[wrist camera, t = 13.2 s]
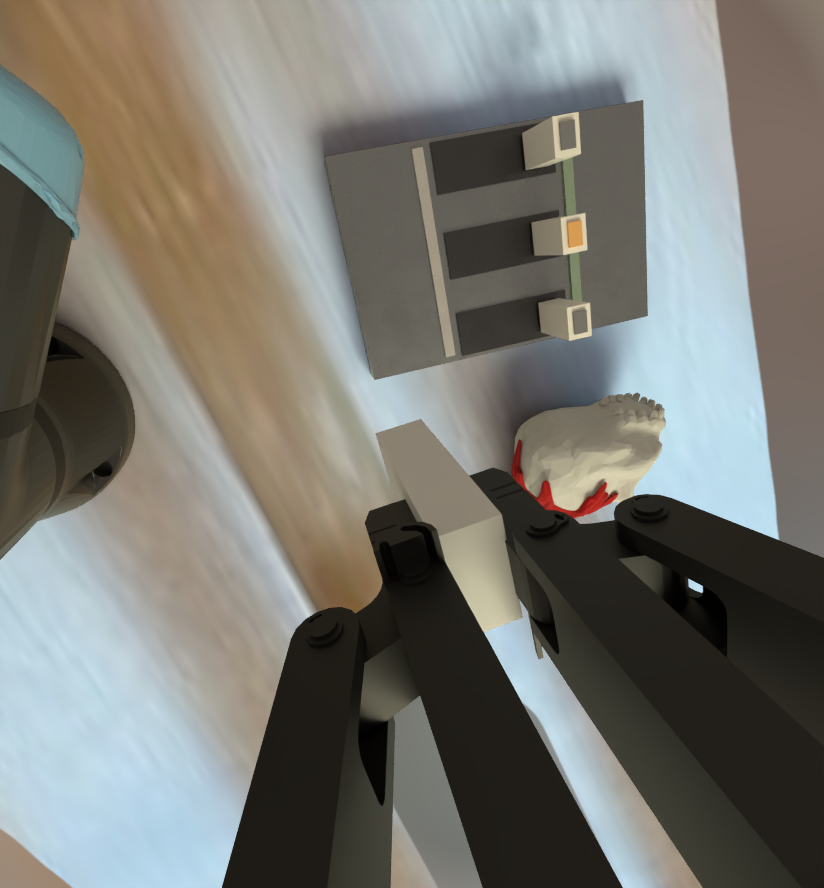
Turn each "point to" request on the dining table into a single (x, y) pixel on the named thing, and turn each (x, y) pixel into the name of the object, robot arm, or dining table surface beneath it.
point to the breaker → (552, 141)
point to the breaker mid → (560, 235)
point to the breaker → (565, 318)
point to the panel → (488, 237)
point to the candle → (588, 452)
